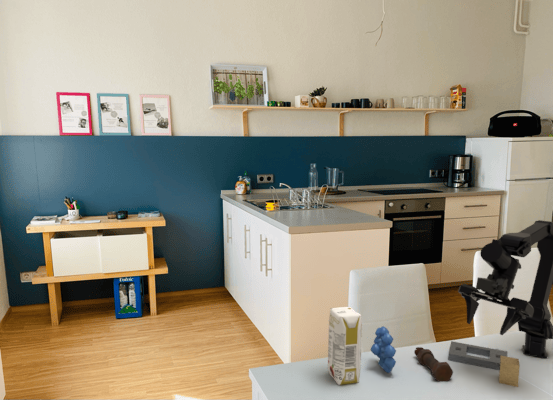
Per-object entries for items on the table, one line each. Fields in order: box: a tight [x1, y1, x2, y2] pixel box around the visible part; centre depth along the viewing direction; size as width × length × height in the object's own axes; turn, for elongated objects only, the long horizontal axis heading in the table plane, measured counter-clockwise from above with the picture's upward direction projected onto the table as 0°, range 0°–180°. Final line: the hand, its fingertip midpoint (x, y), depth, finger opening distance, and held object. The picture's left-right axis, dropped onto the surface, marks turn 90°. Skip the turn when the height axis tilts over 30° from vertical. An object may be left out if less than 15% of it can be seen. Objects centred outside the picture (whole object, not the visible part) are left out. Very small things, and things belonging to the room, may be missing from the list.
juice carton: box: [327, 306, 363, 386], centre depth 122 cm, size 8×9×19 cm
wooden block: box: [498, 356, 520, 388], centre depth 122 cm, size 4×4×6 cm
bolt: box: [413, 346, 454, 383], centre depth 129 cm, size 6×5×15 cm
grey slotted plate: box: [447, 340, 509, 371], centre depth 136 cm, size 10×16×2 cm, turn 64°
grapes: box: [370, 325, 397, 374], centre depth 128 cm, size 12×7×12 cm, turn 9°
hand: (484, 328), depth 121 cm, fingers open, 9 cm apart
